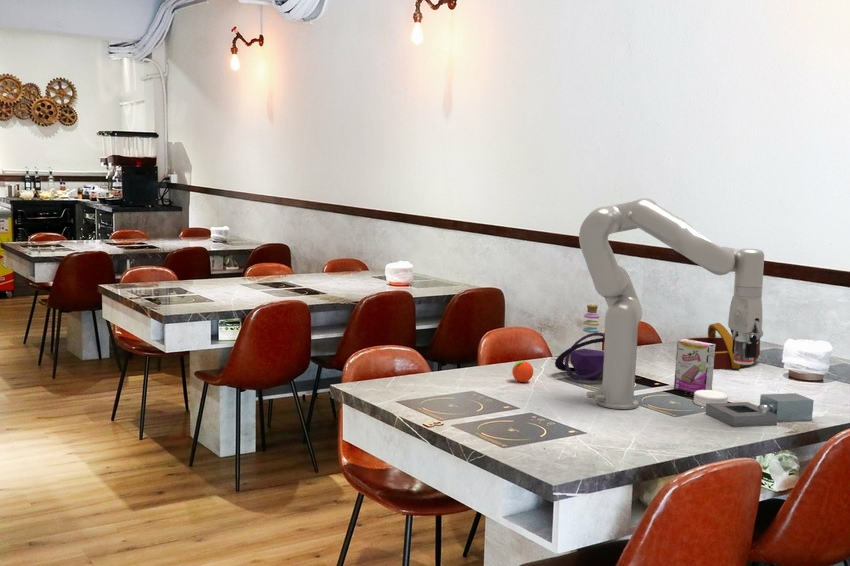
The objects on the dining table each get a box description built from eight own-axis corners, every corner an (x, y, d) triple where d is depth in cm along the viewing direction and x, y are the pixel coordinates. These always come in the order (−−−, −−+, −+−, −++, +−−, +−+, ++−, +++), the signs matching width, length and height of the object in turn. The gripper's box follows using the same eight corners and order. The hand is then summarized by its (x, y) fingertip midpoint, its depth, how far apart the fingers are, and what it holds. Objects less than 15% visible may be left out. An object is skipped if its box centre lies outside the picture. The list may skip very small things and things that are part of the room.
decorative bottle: (601, 369, 317) (605, 299, 314) (633, 383, 298) (638, 309, 294) (545, 371, 310) (548, 300, 307) (573, 386, 290) (578, 310, 287)
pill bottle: (730, 361, 257) (732, 327, 256) (748, 361, 257) (750, 327, 256) (738, 365, 252) (740, 331, 250) (756, 365, 252) (759, 331, 251)
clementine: (520, 385, 288) (521, 364, 287) (505, 381, 293) (506, 360, 292) (537, 382, 293) (538, 361, 292) (521, 378, 298) (522, 357, 297)
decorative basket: (677, 356, 358) (674, 319, 356) (752, 349, 353) (749, 312, 352) (690, 376, 325) (686, 336, 323) (772, 369, 320) (769, 328, 318)
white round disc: (686, 401, 276) (687, 390, 275) (712, 399, 280) (712, 388, 279) (708, 409, 267) (709, 398, 266) (734, 407, 271) (735, 396, 270)
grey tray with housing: (733, 426, 248) (735, 406, 247) (705, 413, 262) (707, 393, 261) (818, 423, 255) (820, 402, 255) (787, 410, 269) (789, 390, 268)
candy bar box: (673, 389, 290) (676, 340, 288) (680, 387, 294) (683, 338, 292) (705, 396, 283) (709, 345, 281) (712, 393, 286) (716, 343, 284)
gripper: (718, 288, 259) (715, 350, 262) (754, 296, 243) (750, 361, 245) (741, 288, 261) (737, 349, 263) (778, 296, 245) (774, 361, 247)
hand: (743, 354), depth 254 cm, fingers closed on pill bottle, 5 cm apart
